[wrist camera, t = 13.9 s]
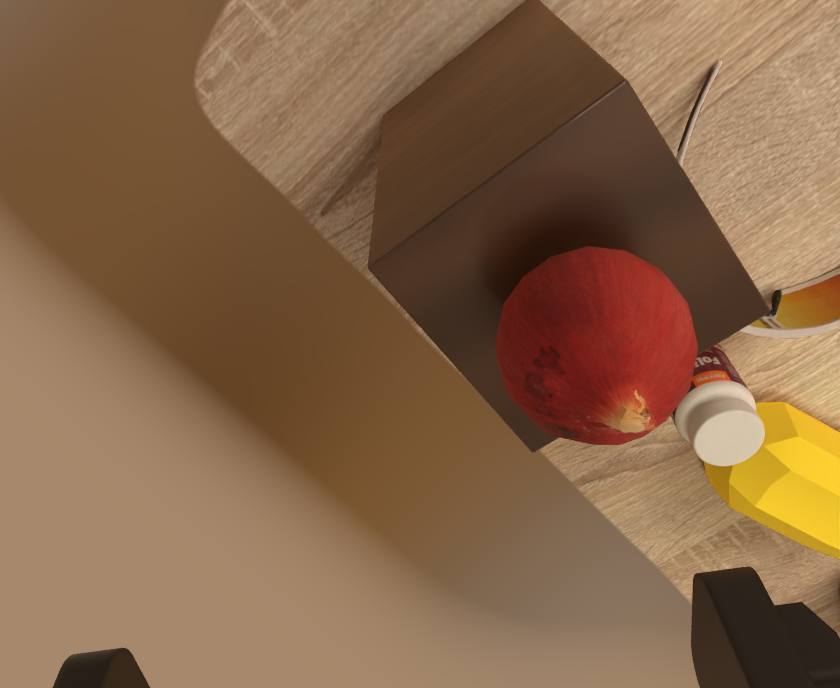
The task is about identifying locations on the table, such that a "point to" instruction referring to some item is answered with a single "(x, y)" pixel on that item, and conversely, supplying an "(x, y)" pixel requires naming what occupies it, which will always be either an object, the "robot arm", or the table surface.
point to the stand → (535, 195)
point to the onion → (596, 346)
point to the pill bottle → (719, 412)
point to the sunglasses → (792, 307)
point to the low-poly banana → (788, 479)
